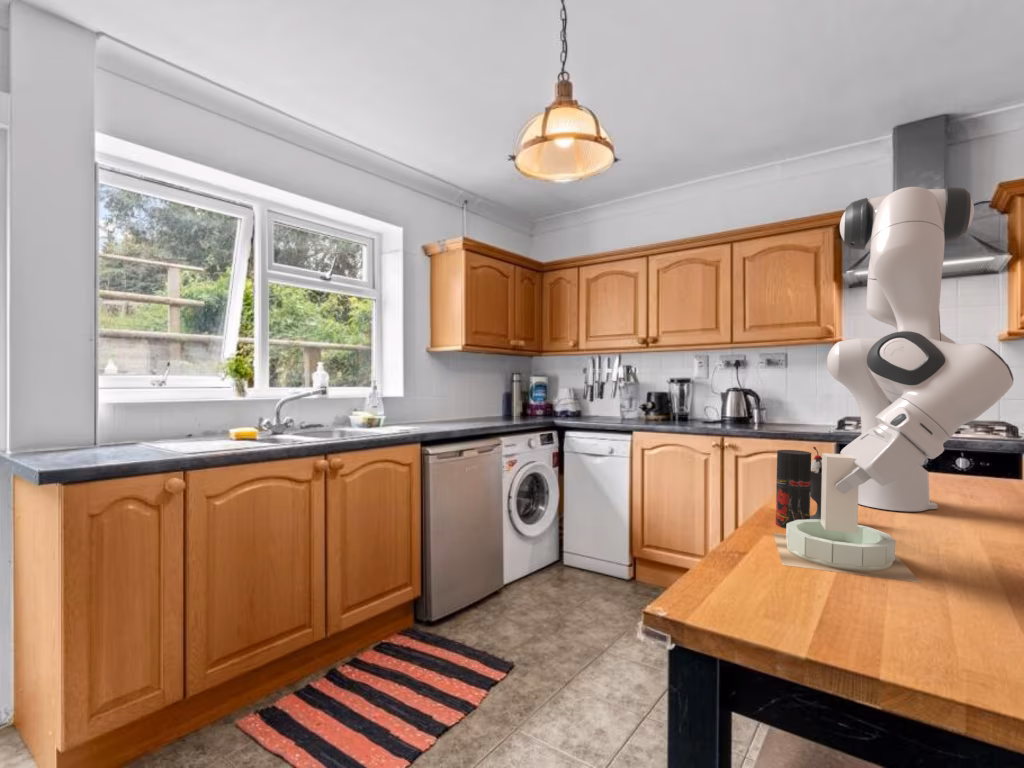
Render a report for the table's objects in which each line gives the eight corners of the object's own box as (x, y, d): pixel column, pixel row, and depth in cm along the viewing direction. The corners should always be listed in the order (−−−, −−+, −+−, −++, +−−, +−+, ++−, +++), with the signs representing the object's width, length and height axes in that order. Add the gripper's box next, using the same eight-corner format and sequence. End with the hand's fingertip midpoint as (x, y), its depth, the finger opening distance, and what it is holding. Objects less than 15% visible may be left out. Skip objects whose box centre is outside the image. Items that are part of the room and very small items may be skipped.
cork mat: (772, 535, 101) (772, 533, 101) (886, 547, 94) (886, 545, 94) (782, 567, 84) (782, 564, 84) (921, 585, 78) (921, 582, 78)
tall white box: (820, 523, 92) (822, 453, 92) (851, 526, 90) (852, 454, 90) (825, 530, 88) (826, 456, 87) (857, 533, 86) (859, 458, 86)
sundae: (807, 513, 117) (808, 444, 116) (842, 519, 112) (844, 448, 112) (796, 519, 112) (798, 447, 112) (833, 526, 107) (834, 451, 107)
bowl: (782, 536, 99) (783, 515, 99) (878, 546, 93) (879, 525, 93) (792, 563, 85) (792, 539, 85) (905, 577, 79) (906, 551, 79)
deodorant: (814, 533, 102) (815, 454, 102) (780, 531, 104) (782, 453, 103) (803, 524, 108) (805, 450, 108) (772, 522, 109) (773, 449, 109)
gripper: (874, 411, 96) (810, 462, 100) (910, 420, 77) (830, 482, 81) (903, 438, 94) (837, 488, 98) (948, 453, 75) (864, 515, 79)
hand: (834, 486), depth 89 cm, fingers closed on tall white box, 4 cm apart
